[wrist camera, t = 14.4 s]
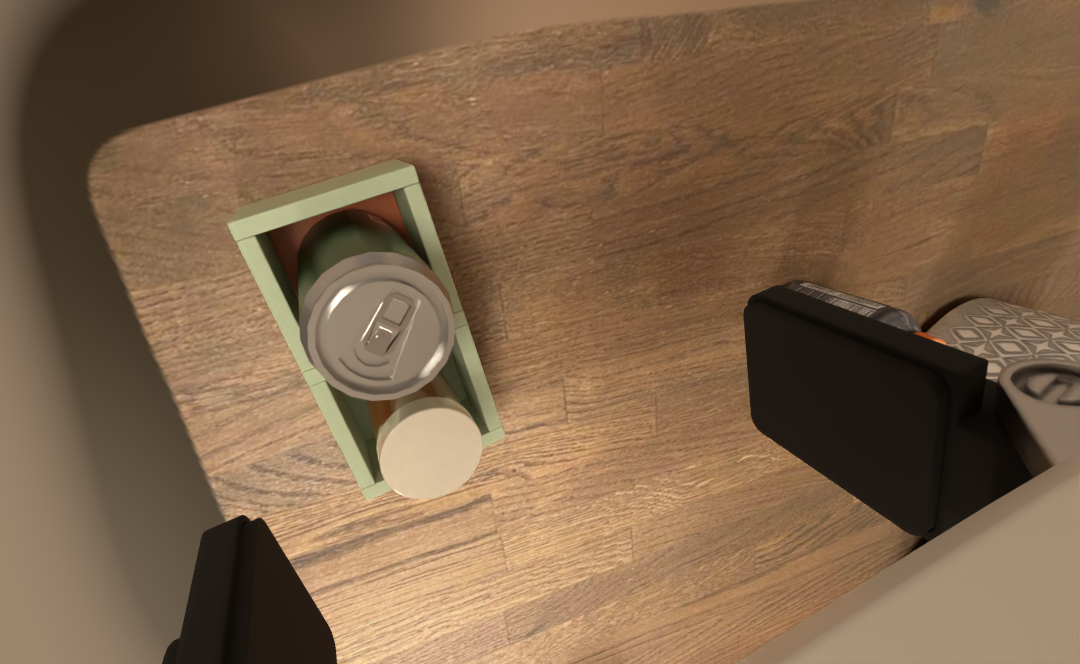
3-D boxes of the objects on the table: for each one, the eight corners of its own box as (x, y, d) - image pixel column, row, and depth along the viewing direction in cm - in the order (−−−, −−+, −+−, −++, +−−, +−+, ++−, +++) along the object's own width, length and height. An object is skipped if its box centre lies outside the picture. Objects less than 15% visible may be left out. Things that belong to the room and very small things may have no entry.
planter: (992, 407, 60) (1148, 471, 49) (878, 476, 56) (1019, 563, 45) (1008, 267, 53) (1194, 306, 42) (878, 335, 49) (1047, 397, 38)
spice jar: (345, 355, 31) (363, 435, 23) (423, 325, 32) (466, 391, 25) (375, 422, 33) (401, 516, 25) (448, 391, 34) (495, 472, 26)
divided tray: (237, 207, 28) (226, 223, 23) (396, 158, 30) (413, 164, 25) (357, 452, 34) (366, 502, 30) (480, 398, 36) (506, 437, 32)
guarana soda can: (327, 188, 28) (347, 227, 18) (422, 240, 31) (488, 301, 20) (277, 282, 29) (269, 373, 18) (375, 325, 31) (416, 426, 21)
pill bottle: (820, 332, 46) (962, 388, 36) (763, 363, 45) (894, 431, 35) (814, 266, 44) (965, 308, 34) (753, 298, 42) (892, 351, 32)
